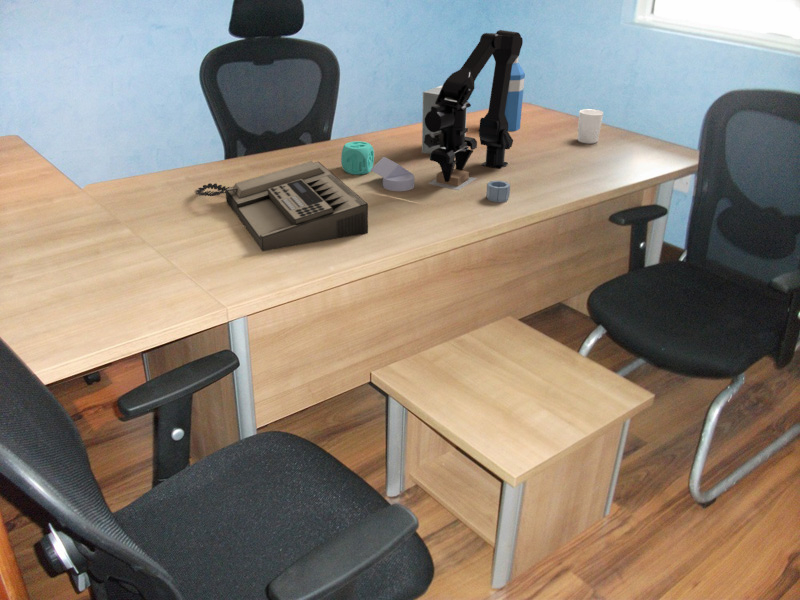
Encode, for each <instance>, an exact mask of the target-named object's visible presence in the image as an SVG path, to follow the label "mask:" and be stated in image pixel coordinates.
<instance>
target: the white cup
mask: <svg viewBox="0 0 800 600" xmlns="http://www.w3.org/2000/svg"><path fill="white" fill-rule="evenodd" d="M603 118H604V111H602V110H598V109H594V108H592V109H591V108H585V109H580V110H579V114H578V123H577V125H578V126H577V128H578V129H577V141H578V142H579V143H582V144H588V145H589V144H596V143H598V141H599V137H600V132H601V128H602V123H603Z"/></svg>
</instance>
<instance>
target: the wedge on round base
mask: <svg viewBox="0 0 800 600" xmlns="http://www.w3.org/2000/svg"><path fill="white" fill-rule="evenodd" d="M371 172H373V173H374V174H377V175H378V176H380V177H381V178H382V187H383V188H384V189H385V190H387V191H393V192H406V191H410V190H412V189H414V188H415V175H414V173H412V172H411V171H409V170H408V169H406V168H405V167H403V166H402V165H400V164H398V163H397V162H395V161H393V160H392V159H389V158H387V157H386V156H383V157H381V159H380V160H379V161H377V163H376V164H374V165H373V167H372V169H371Z"/></svg>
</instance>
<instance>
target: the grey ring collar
mask: <svg viewBox="0 0 800 600" xmlns="http://www.w3.org/2000/svg"><path fill="white" fill-rule="evenodd" d="M510 191H511V184H510V183H509V182H508V181H503V180H491V181H489V182H487V183H486V192H485V193H486V194H485V195H486V199H487V200H488V201H490V202H493V203H494V202H495V203H505V202H506V203H507V201H509V198H510V193H511V192H510Z"/></svg>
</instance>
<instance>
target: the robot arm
mask: <svg viewBox="0 0 800 600" xmlns="http://www.w3.org/2000/svg"><path fill="white" fill-rule="evenodd" d="M523 43H524V40H523V37H522V36H521V34H520V32H517V31H510V30H504V29H503V30H502V29H499V30H497V31H496V32H495V33H493V32H491V33H490V32H485V33H482V34H481V36H480V39H479V41H478V43H477V44H476V45H475V47H474V49H473V50H472V52H471V54H470V55H469V56H468V58H467V59H466V60H465V62H464V63H463V65H462V67H460V68H459V69H458V70H456V71H455V72H453V73H451V74H450V75H449V76H448V77H447V78H446V79H445V81H443V82H444V83H443V84H442V85H443V86H442V85H441V86H442V89H441V91H440V93H439V95H438V98H437V100H436V102H435V104H436V105H438V106H432V107H431V111H430V112H428V113H427V115H426V117H425V125H426V127H427V129H428V130H429V131H431V132H437V131H440V130H441V132H438V133H434V134H433V133H430V134H426V135H425V138H424V139H425V140H424V143H425V144H426V145H427V146H428V148H431V147H432V146H437V145H440V147H443V148H444V147H446V149H443V148H437V149H435V150H433V151H432V152H431V153H430V154H429V161H431V162H435V163H437V164H438V165H439V167H440V169H441V171H442V173H443V176H444V180H445V182H449V180H450V178H451V175H452V172H453V169H457V170H462V171H464V168H465V166H466V164H467V163H468V161H469V159H470V158H471V155H472V154H473V152H474V150H475V149H477V148H478V141H477V140H476V138H475V137H470V136H466V137H465V133H468V131H469V128H468V127H466V128H465V123H466V124H467V113H466V108H468V109H469V108H470V107H471V106H472V104H471V103H470V102H469V99H470V98H471V97H472V96H471V95H472V94H473V92H474V90H475V81H476V79H477V77H478V76H480V73H481V72H482V70H483V69H484V68H485V66H486V64H487V63H488V62H489V59H490V58H491V57H493V59H494V61H495V62H494V70H493V76H492V77H493V78H492V82H491V83H492V84H491V91H490V96H489V104H488V110H487V111H488V112H487V113H486V114H485V115H484V116H483V117H481V118H480V120H479V127H478V137H479V142H480V145H482V146H486V152H485V161H484V162H482V163H481V166H483V167H486V168H487V167H488V168H492V169H493V168H494V169H498V170H500V169H502V168H504V167H506V166H507V165H509V162H507V161H505V157H506V156H505V154H506V150H510V149H511V148H512V146H513V144H514V139H513V137H512V136H511V135H510V133H509V131H508V122H507V119H506V116H505V108H506V102H507V96H508V89H509V83H510V76H511V70H512V64H513V63H514V61H515V60H516V59H517V58H518V57H519V56H520V54H521V50H522V47H523ZM445 98H446V99H449V100H454V101H457V102H454V101H449V100H445Z"/></svg>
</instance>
